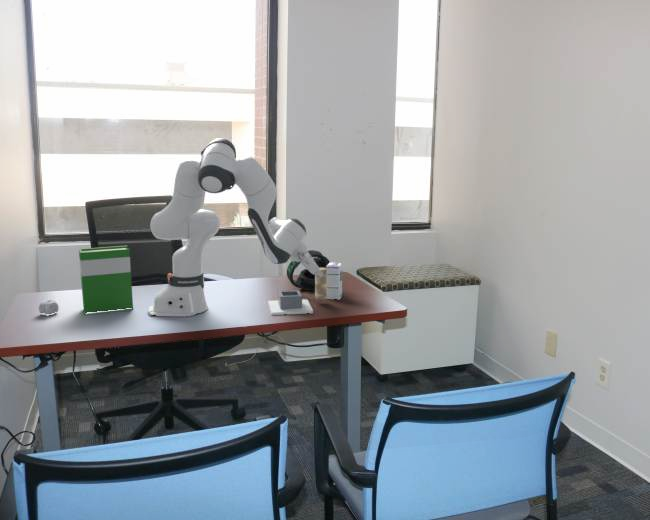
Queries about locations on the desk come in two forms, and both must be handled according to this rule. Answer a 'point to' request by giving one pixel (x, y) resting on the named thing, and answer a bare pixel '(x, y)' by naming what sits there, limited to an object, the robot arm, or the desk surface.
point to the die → (48, 307)
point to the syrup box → (334, 281)
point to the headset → (306, 272)
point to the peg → (321, 284)
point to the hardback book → (106, 278)
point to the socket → (289, 304)
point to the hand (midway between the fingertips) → (321, 273)
